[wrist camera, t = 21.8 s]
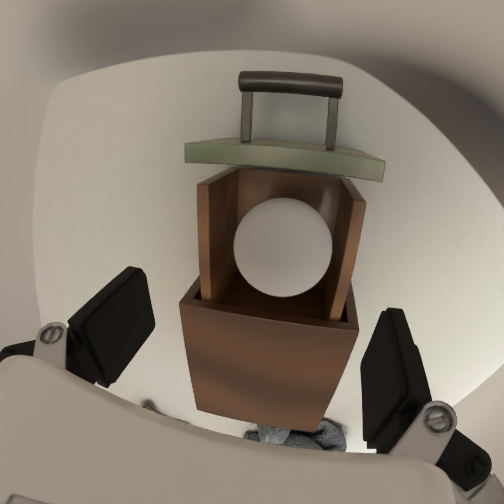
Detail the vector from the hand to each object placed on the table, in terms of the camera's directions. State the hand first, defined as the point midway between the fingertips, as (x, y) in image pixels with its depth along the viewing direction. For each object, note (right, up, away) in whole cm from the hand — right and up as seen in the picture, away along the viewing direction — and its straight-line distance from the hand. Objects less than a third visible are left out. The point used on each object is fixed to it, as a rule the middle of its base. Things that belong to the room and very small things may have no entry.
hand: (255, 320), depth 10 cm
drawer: (+3, +8, +13) cm, 15 cm away
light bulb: (+3, +6, +13) cm, 14 cm away
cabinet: (+3, -4, +20) cm, 20 cm away
